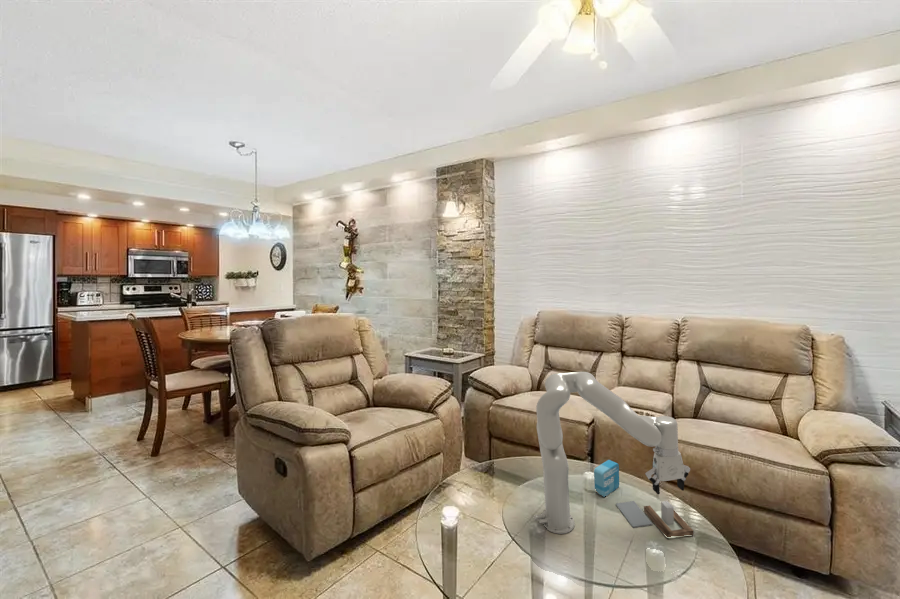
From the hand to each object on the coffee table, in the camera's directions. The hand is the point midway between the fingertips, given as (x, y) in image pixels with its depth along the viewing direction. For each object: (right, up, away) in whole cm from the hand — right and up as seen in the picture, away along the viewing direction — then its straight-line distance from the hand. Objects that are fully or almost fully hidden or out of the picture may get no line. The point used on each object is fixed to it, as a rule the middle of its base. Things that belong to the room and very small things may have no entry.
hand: (668, 490), depth 157 cm
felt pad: (-10, -14, +8) cm, 19 cm away
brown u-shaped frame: (+1, -14, +2) cm, 14 cm away
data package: (-14, -12, +25) cm, 31 cm away
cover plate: (+1, -14, +2) cm, 14 cm away
